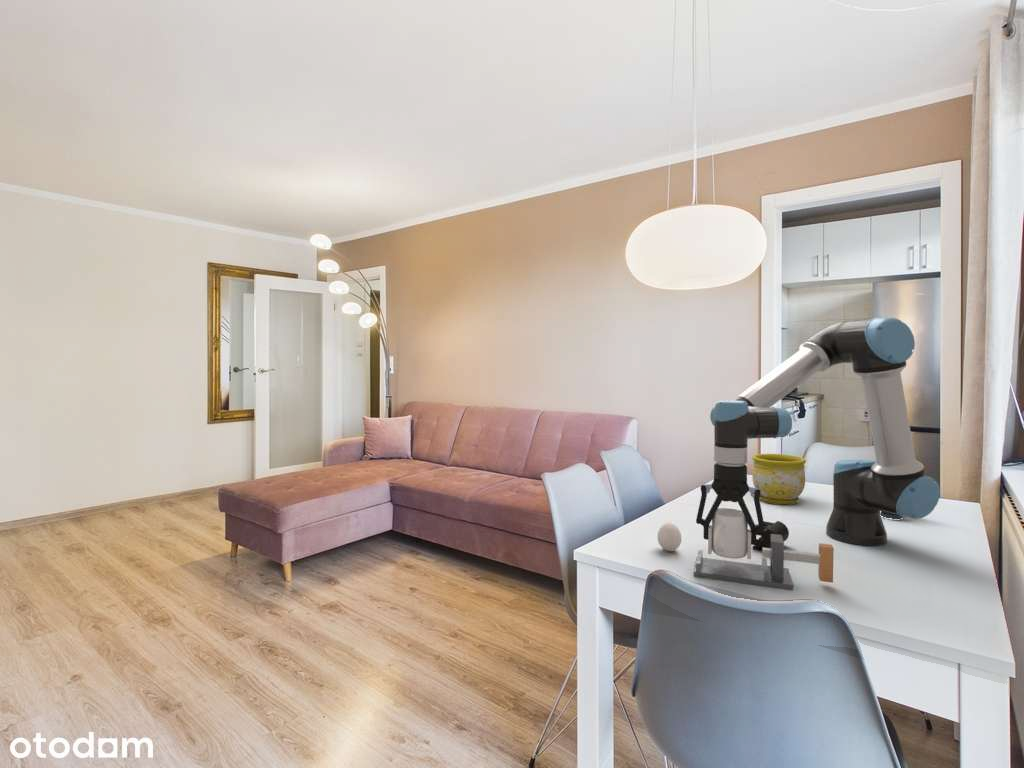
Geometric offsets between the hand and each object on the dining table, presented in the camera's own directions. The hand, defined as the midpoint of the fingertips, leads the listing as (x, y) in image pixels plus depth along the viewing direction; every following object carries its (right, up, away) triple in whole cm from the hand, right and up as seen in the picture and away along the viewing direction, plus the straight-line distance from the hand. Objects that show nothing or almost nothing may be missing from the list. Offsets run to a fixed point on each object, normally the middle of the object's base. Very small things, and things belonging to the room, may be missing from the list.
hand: (729, 554), depth 131 cm
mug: (-1, 0, 0) cm, 1 cm away
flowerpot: (+47, -2, +70) cm, 84 cm away
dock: (+3, -5, -1) cm, 5 cm away
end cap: (+19, -4, +18) cm, 27 cm away
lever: (+14, -3, -5) cm, 15 cm away
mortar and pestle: (+74, -3, +46) cm, 87 cm away
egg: (-10, -4, +16) cm, 20 cm away
